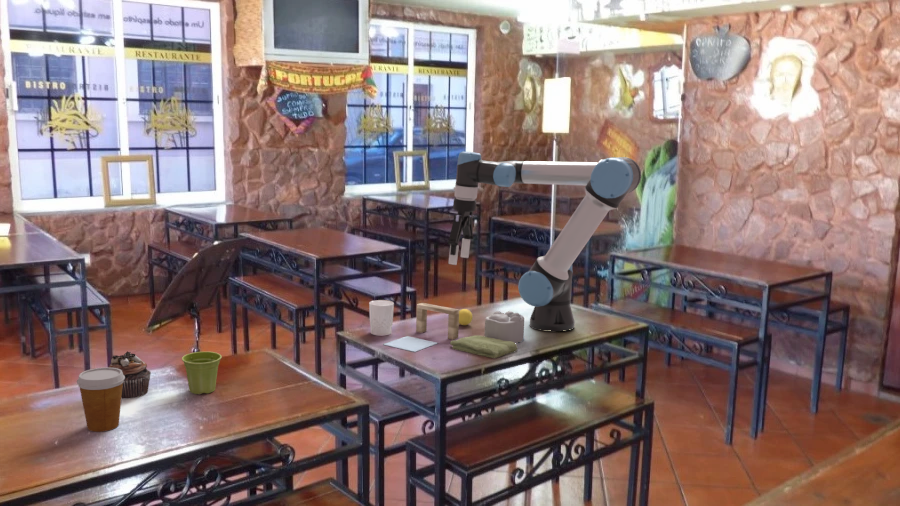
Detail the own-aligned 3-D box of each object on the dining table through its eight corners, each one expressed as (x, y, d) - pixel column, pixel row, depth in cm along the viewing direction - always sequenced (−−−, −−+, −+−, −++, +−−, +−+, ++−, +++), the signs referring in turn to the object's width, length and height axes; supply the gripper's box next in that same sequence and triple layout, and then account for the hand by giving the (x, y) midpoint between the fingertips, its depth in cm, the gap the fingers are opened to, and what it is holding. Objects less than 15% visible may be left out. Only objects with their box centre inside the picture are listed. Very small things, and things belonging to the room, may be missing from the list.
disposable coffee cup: (88, 418, 175) (86, 366, 173) (132, 418, 175) (130, 366, 173) (72, 435, 165) (69, 380, 163) (118, 435, 166) (116, 380, 164)
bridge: (421, 329, 257) (422, 302, 255) (458, 337, 249) (459, 309, 247) (416, 331, 254) (416, 304, 253) (452, 339, 246) (453, 311, 245)
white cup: (395, 330, 255) (395, 300, 253) (391, 337, 247) (391, 306, 246) (371, 329, 256) (371, 299, 254) (366, 335, 248) (366, 305, 246)
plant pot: (229, 387, 197) (229, 354, 196) (206, 399, 188) (206, 364, 187) (198, 382, 200) (197, 349, 199) (174, 393, 191) (173, 359, 190)
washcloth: (473, 340, 248) (473, 331, 247) (519, 352, 237) (520, 342, 236) (447, 349, 238) (447, 339, 237) (494, 361, 227) (494, 351, 226)
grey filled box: (480, 339, 248) (481, 313, 246) (507, 332, 257) (508, 307, 255) (504, 347, 241) (505, 319, 239) (531, 339, 250) (532, 313, 248)
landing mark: (437, 343, 242) (437, 342, 242) (414, 352, 232) (414, 351, 232) (407, 336, 248) (407, 336, 248) (383, 344, 238) (383, 344, 238)
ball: (475, 324, 265) (475, 309, 264) (466, 328, 261) (467, 312, 260) (461, 322, 268) (462, 306, 267) (452, 325, 264) (453, 309, 263)
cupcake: (132, 402, 185) (130, 361, 183) (100, 396, 188) (98, 356, 187) (160, 389, 194) (158, 351, 192) (128, 384, 197) (127, 346, 196)
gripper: (465, 193, 272) (459, 253, 276) (442, 200, 249) (436, 265, 253) (485, 196, 270) (479, 256, 274) (465, 204, 247) (458, 269, 251)
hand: (458, 260), depth 264 cm, fingers open, 13 cm apart
